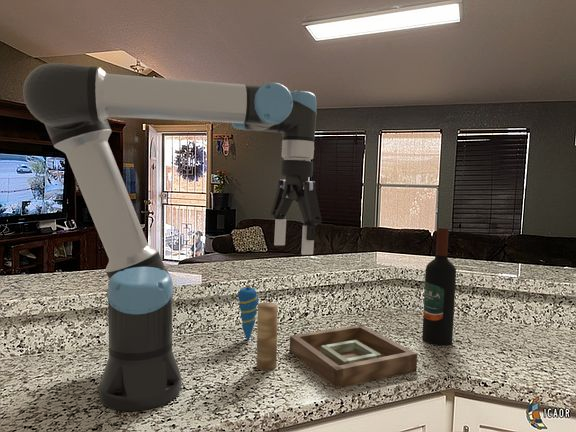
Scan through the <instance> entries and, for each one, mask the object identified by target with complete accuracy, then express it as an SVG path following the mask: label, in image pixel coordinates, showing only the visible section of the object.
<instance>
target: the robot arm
mask: <svg viewBox="0 0 576 432" xmlns="http://www.w3.org/2000/svg"><path fill="white" fill-rule="evenodd" d="M22 96H23V100H24V103H25V106H26V108H27V109H28V110H29V112H30V114H31V115H32V116H33V117H34V118H35V119H37V121H39V122H40V123H43V124H44V126H45V129H46V131H47V133H48V136H49V138H50V140H51V142H52V145H53V147H54V149H57V150H58V151H61V152H63V154H65V155H66V158H67V160H68V163H69V166H70V168H71V170H72V173H73V175H74V178H75V180H76V182H77V185H78V187H79V190H80V192H81V195H82V197H83V199H84V202H85V204H86V207H87V209H88V213H89V214H90V216H91V218H92V221H93V223H94V226H95V230H96V231H97V233H98V237H99V239H100V240H101V242H102V246H103V248H104V250H105V253H106V256H107V258H108V263H107V265H106V268H105V269H104V270H105V274H106V275H107V278H108V280H109V281H108V285H107V286H108V288H107V289H106V290H107V291H106V298H107V303H108V304H107V308H108V309H107V311H108V313H107V314H108V315H107V317H108V318H107V319H108V321H107V322H108V358H107V362H106V364H105V366H104V367H105V368H104V371H103V374H102V377H101V380H100V381H99V382H100V383H99V387H98V389H99V393H98V394H99V395H98V398H99V401H100V403H101V404H102V405H103V406H105V407H106V408H108V409H111V410H116V411H122V412H138V411H144V410H145V411H146V410H150V409H154V408H157V407H160V406H164V405H165V404H167V403H170V402H171V401H172V400H174V399H175V398H177V396H179V394H180V393H181V390H182V375H181V372H180V369H179V366H178V363H177V360H176V357H175V355H174V352H173V295H174V285H173V280H172V279H173V278H172V277H171V275H170V273H169V271H168V270H167V268H166V266H165V264H164V261H163V260H162V256H161V254H160V252H159V249H158V248H155V247H153V246H151V245H150V244H149V243H148V241H147V238H146V236H145V232H144V231H143V228H142V226H141V223H140V221H139V218H138V215H137V213H136V210H135V208H134V205H133V202H132V200H131V198H130V195H129V192H128V189H127V187H126V184H125V182H124V179H123V177H122V175H121V172H120V169H119V167H118V165H117V161H116V159H115V156H114V154H113V152H112V149H111V147H110V143H109V142H108V141H109V138H110V136H111V134H112V132H113V131H112V129H111V126H110V123H109V120H108V119H107V118H109V117H111V118H125V119H126V118H128V119H132V118H133V119H147V120H149V119H150V120H164V121H165V120H169V121H171V120H172V121H185V122H186V121H189V122H190V121H191V122H207V123H208V122H210V123H227V124H228V123H229V124H230V123H231V125H232V127H233V128H234V129H235V130H242V131H243V130H244V131H245V132H246V131H247V132H249V131H253V132H254V131H255V132H268V133H279V134H281V133H282V141H281V158H283V159H282V161H281V163H280V164H281V165H280V175H281V176H282V177H285V179H278V181H277V182H278V184H277V190H276V194H275V197H274V200H273V205H272V208H271V211H270V215H271V216H273V218H274V219H275V221H274V223H275V224H274V240H273V242H274V243H273V245H274V246H285V245H286V234H287V216H286V215H287V213H288V211H289V209H290V207H291V205H292V203H293V201H295V202H296V203H297V204H298V206H299V210H300V213H301V216H302V219H303V221H304V222H303V223H302V232H301V233H302V234H301V237H302V238H301V249H300V250H301V251H300V252H301V255H302V256H305V255H306V256H308V255H314V249H315V248H314V247H315V246H314V245H315V237H316V226H318V225H319V224H322V222H323V221H322V214H321V209H320V205H319V204H320V203H319V201H318V194H317V183H316V181H314V180H312V181H310V180H309V179H308V178H312V177H313V176H314V175H313V173H314V162H313V161H311V160H313V159H314V155H315V152H314V151H315V135H316V122H317V115H318V113H317V97H316V95H315V94H314V93H313V92H311V91H307V90H289V89H288V87H286V86H284V85H283V84H281V83H279V82H268V83H265V84H263V85H255V84H254V85H253V84H244V83H243V84H242V83H229V82H218V81H217V82H216V81H203V80H192V79H191V80H189V79H181V78H180V79H178V78H165V77H153V76H152V77H151V76H142V75H140V76H139V75H127V74H115V73H108V72H106V71H105V70H104V69H103V68H102V67H100V66H90V65H88V66H87V65H82V64H73V63H72V64H71V63H62V62H50V63H44V64H41V65H39V66H37V67H36V68H34V69H33V70H32V71H30V73H29V74H28V75H27V76H26V79H25V81H24V83H23V88H22Z"/></svg>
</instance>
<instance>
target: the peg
mask: <svg viewBox="0 0 576 432" xmlns="http://www.w3.org/2000/svg"><path fill="white" fill-rule="evenodd" d="M278 311H279V310H278V304H277V303H275V302H271V301H270V302H267V301H266V302H260V303H258V304H257V319H256V320H257V321H256V322H257V326H256V327H257V329H256V330H257V331H256V332H257V333H256V368H257V370H260V371H266V372H267V371H274V370H275V369H277V359H278V358H277V355H278V354H277V353H278V349H277V347H278Z"/></svg>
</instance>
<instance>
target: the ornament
mask: <svg viewBox="0 0 576 432" xmlns="http://www.w3.org/2000/svg"><path fill="white" fill-rule="evenodd" d="M257 294H258V293H257V291H256V290H255V288H253V287H251V286H250V284H245V287H242V288H241V289H240V290H239V291H238V294H237V297H238V301H239V303H238V308H239V310H240V319H241V327H242V331H243V333H244V337H245V338H246V340H247V341H248V340H250V338H251V335H252V333H253V331H254V330H253V329H254V326H255V323H256V315H257V314H258V304H259V298H258V295H257Z"/></svg>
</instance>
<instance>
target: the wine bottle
mask: <svg viewBox="0 0 576 432" xmlns="http://www.w3.org/2000/svg"><path fill="white" fill-rule="evenodd" d="M449 233H450V231H449V227H441V226H438V227H437V229H436V245H435V246H436V248H435V249H436V250H435V251H436V252H435V257H434V259H432V260H431V261H429V262H428V263H427V265H426V267H425V271H424V273H425V276H424V293H423V294H424V297H423V312H422V314H423V317H422V332H421V334H422V337H421V338H422V341H424V342H425V343H427V344H430V345H434V346H442V347H443V346H450V345H452V344H453V339H454V337H453V336H454V319H455V318H454V315H455V300H456V284H457V283H456V281H457V279H456V278H457V268H456V266H455V265H454V264H453V263H452V262H451V261H450V260H449V258H448V247H449V244H448V243H449V235H450V234H449Z"/></svg>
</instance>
